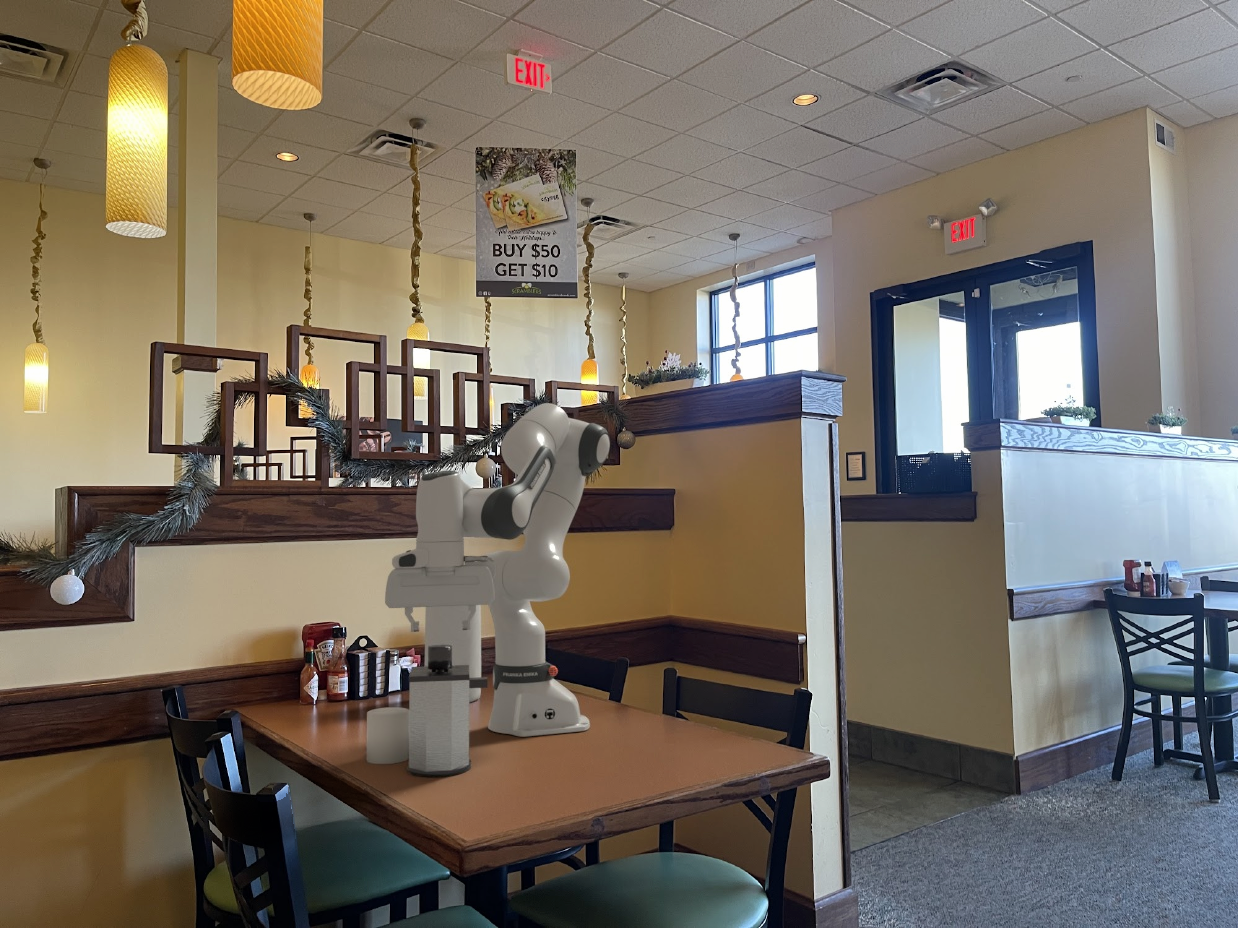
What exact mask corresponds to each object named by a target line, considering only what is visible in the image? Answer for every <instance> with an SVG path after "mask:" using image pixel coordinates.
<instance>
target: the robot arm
mask: <svg viewBox="0 0 1238 928" xmlns="http://www.w3.org/2000/svg"><path fill="white" fill-rule="evenodd" d="M500 449H501V450H500V451H501V456H502V459H503V460H504V463H505V465H506V466H507V467H508V468H509V469H510V471H512V472H513V473H514V474H515V475H517V477H516V478H515V479H514V481H513V483H511V484H509V485H506V486H501V487H493V488H489V487H488V488H474V486H471V485H469V484H467V483H466V482H464V480H463V479H462V478H461V476H460V472H458V471H455V470H440V471H433V472H429V473H425V474H424V475H423V476H421V477H420V479H419V482H418V485H417V490H416V500H415V520H416V523H417V528H418V529H417V530H418V531H417V536H416V539H415V540H416V542H415V545H416V547H415V549H412V550H411V549H409V550H406V551H405V552H402V553H399V554H397V555H394V556H393V557H392V559H391V565H392V567H393V569H392V570H391V571H390V573H389V574H388V576H387V580H386V585H385V595H384V604H385V605H386V607H387V608H389V609H404V616H406V619H407V620H408V621H409V623H410V632H411V633H418V632H420V627H419V626H420V621H416V620H415V619H414V617H413V616H412V614H413V612H414V608H426V607H438V606H467V605H468V610H469V611H471V612H470V614H469V616H468V618H467V619H466V620H462V624H463V625H462V630H470V620H471V619H472V617H473V616H474V614H475V612H476V605H481V606H488V609H489V611H490V614H491V618H492V621H493V627H494V628H493V629H494V641H495V643H494V644H495V647H494V648H495V649H494V650H495V662H494V663H493V668H492V686H493V689H494V693H493V700H492V701H493V703H492V709H491V714H490V719H489V721H488V726H487V728H488V730H490V731H492V732H495V733H500V734H508V735H512V736H516V737H521V738H522V737H525V738H526V737H532V736H533V737H534V736H543V735H545V736H546V735H554V734H564V733H574V732H575V733H576V732H585V731H587V730H588V729H590V728H591V723H590V719H589V718H588V717H586V715H584V714H581V710H580V705H579V702H578V698H577V697H576V695H575V694H574V693H573V692H571V691H570V690H569V689H568V688H566V687H565V686H564V685H562V684H561V682H559V681H557V680H556V679H555V676H557V674H558V672H559V670H558V668H557V667H556V666H555V665H553V664H552V663H549V662H547V661H546V628H545V626H544V624H543V623H542V622H541V620H540V619H539V618H537V616H536V614H535V612H534V611H533V609H532V605H531V602H536V603H537V602H541V603H542V602H546V601H551V600H555V599H559V598H561V597H562V596H564V594H565V593H566V591H567V589H568V588H569V584H570V580H571V573H570V568H569V566H568V563H567V561H566V560H565V558H564V554H563V553H564V543H565V539H566V536H567V533H568V531H569V528H570V526H571V524H572V521H573V520H574V517H575V514H576V513H577V510H578V507H579V505H580V502H581V499H582V497H583V494H584V493H583V492H584V488H585V483H586V477H589V476H591V475H592V474H593V473H594V472H595V471H596V470H598V469H599V468H600V467H601V466H603V465H604V463H605V462H606V460H607V458H608V455H609V454H610V449H611V438H610V434H609V432H608V431H607V429H606V428H605V427H603V426H601V425H599V424H598V423H594V422H590V423H589V422H586V421H583V420H580V419H576V418H571V417H568V414H567V413H566V411H565V410H564V409H563V408H561V407H560V406H559V405H557V404H554V403H551V402H550V403H549V402H546V403H541V404H539V405H537V406H535V407H533V408H532V409H531V410H529V411H528V412H526V413H525V414H524V415H523V416H522V417H520V419H518V420H517V421H516V422H515V424H513V425H512V426H511V427H510V429H509V430H508V431H507V432H506V434H505V436H504V437H503V439H502V441H501V443H500ZM522 534H523V535H524V536H525V539H524V543H523V546H522V548H521V549H520V550H497V551H493V552H489V553H486V554H483V555H465V550H464V549H465V540H464V538H478V539H479V538H483V539H484V538H486V539H487V538H488V539H489V538H492V539H500V540H510V541H511V540H515V539H516V538H519V537H520V536H521V535H522Z"/></svg>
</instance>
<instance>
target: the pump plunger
mask: <svg viewBox="0 0 1238 928" xmlns="http://www.w3.org/2000/svg"><path fill="white" fill-rule="evenodd" d="M450 668H452V646H451V645H432V646H428V669H430V670H436V672H444V670H445V669H450Z"/></svg>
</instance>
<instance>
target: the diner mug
mask: <svg viewBox="0 0 1238 928" xmlns="http://www.w3.org/2000/svg"><path fill="white" fill-rule="evenodd" d="M365 760H366V762H367V763H369V764H373V765H390V764H391V765H392V764H397V763H399V764H400V763H402V762H405V761H407V760H409V708H406V707H398V706H397V707H394V706H393V707H380V708H375V709H371V710H369V711H367V712H366V759H365Z"/></svg>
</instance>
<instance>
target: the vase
mask: <svg viewBox="0 0 1238 928" xmlns="http://www.w3.org/2000/svg"><path fill="white" fill-rule="evenodd" d="M481 608H482V605H476V612H475V614H474V616H473V617H472V619H471V620H470V630H462V625H463V624H462V620H466V619H467V618H468V616H469V614H470V612H471V611H469V610H468V605H467V606H438V607H425V618H424V621H425V623H424V624H425V625H424V628H425V630H424V631H425V633H424V666H428V646H432V645H451V646H452V666H454V665H469V678H478V677H482V609H481ZM481 691H482V688H469V703H472V702H475V701H477V700H478V699H480V697H481Z"/></svg>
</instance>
